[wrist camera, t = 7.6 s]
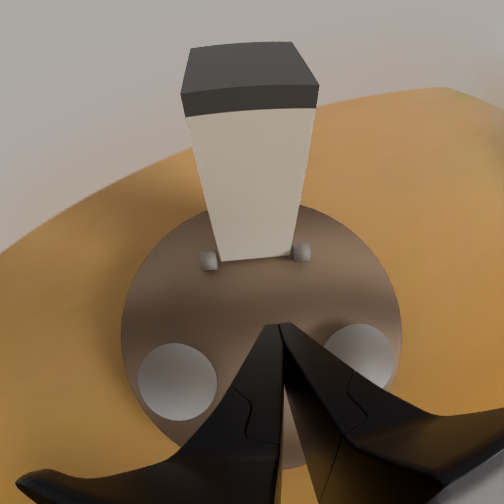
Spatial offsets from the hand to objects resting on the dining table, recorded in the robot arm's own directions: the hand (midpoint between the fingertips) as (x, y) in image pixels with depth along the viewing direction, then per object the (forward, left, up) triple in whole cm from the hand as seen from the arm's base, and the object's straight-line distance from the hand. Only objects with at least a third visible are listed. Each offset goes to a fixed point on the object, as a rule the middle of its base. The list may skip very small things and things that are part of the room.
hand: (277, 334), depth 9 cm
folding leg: (+5, +4, -5) cm, 8 cm away
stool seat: (+1, +1, -7) cm, 7 cm away
